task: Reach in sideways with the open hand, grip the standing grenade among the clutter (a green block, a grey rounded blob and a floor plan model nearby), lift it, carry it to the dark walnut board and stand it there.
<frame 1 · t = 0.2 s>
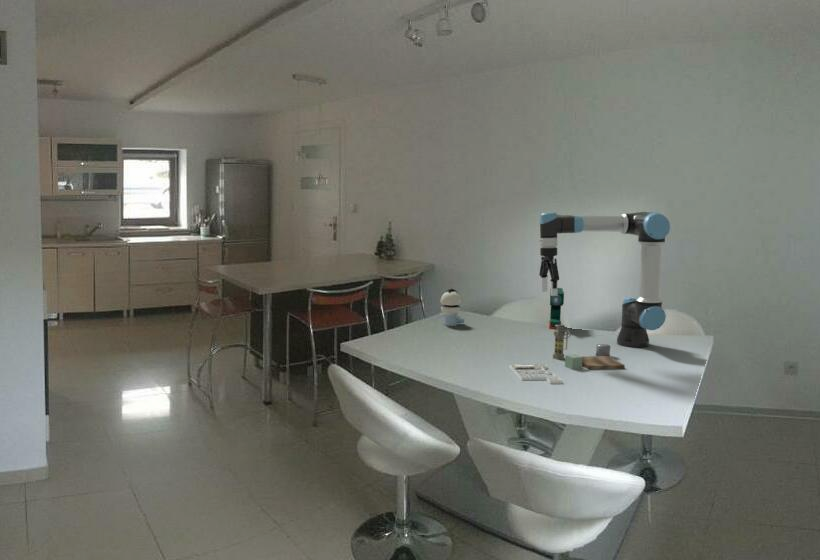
hand: (549, 293, 310), 28 cm above the table, tool pointing down, fingers open, 13 cm apart
grey rounded blob: (602, 356, 309), on the table
green block: (573, 367, 289), on the table
floor plan model: (535, 376, 276), on the table
walnut board: (598, 364, 294), on the table
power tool: (555, 328, 370), on the table
toy: (451, 324, 376), on the table
grenade: (560, 359, 303), on the table
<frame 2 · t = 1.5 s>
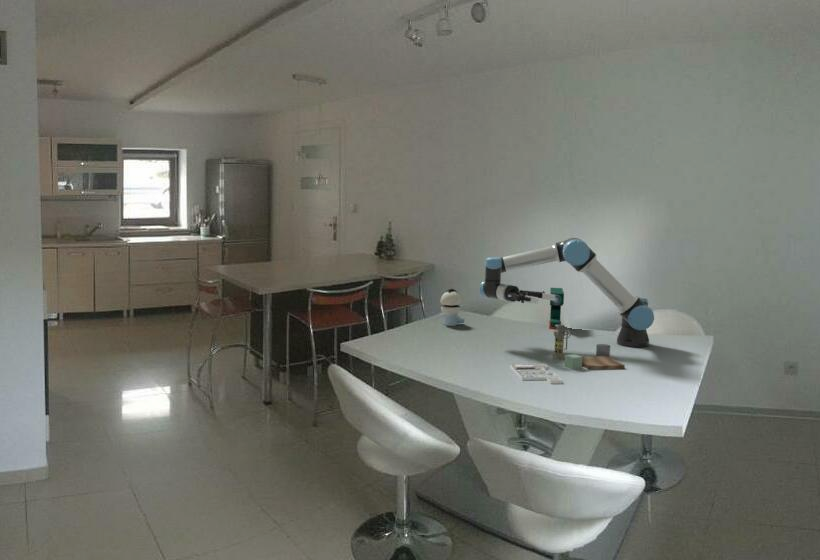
hand: (546, 299, 307), 26 cm above the table, tool horizontal, fingers open, 13 cm apart
nothing on the table moved.
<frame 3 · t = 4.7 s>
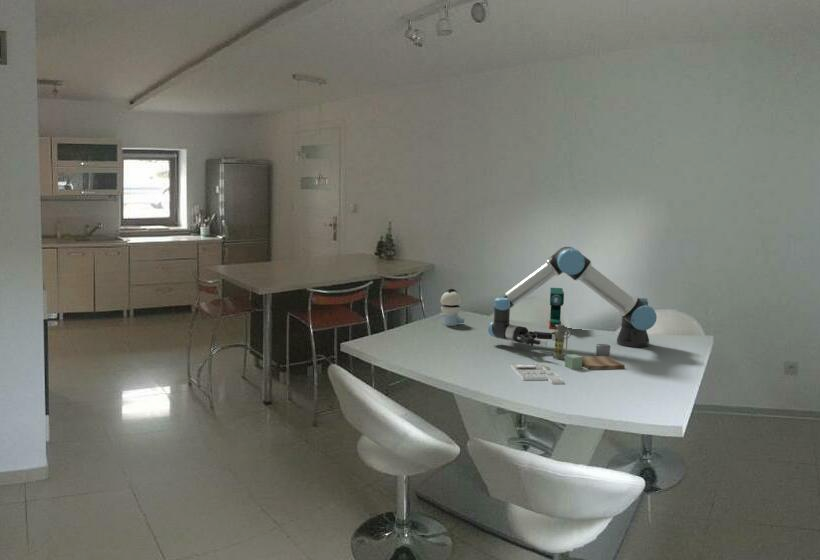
hand: (555, 341, 304), 7 cm above the table, tool horizontal, fingers open, 13 cm apart
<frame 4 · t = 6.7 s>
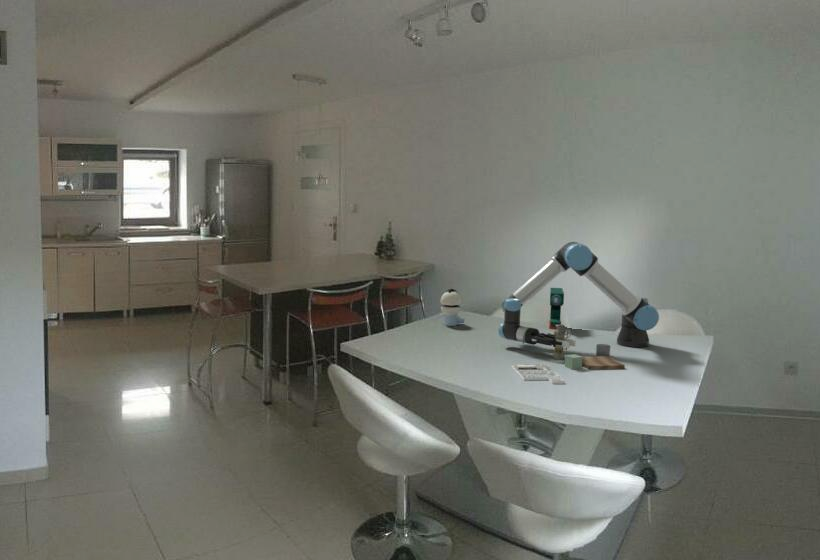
hand: (571, 344, 299), 8 cm above the table, tool horizontal, fingers closed on grenade, 4 cm apart
grenade: (560, 358, 303), on the table, touching gripper
everything else where it was.
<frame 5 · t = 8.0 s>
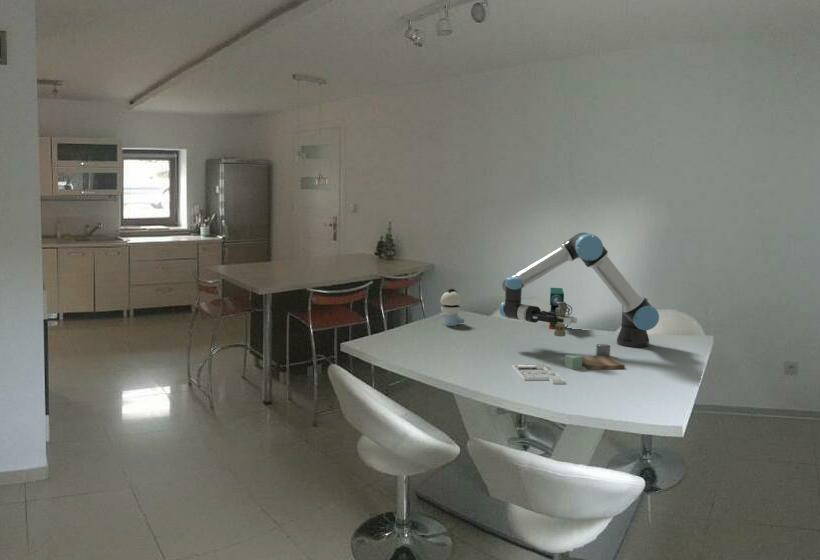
hand: (573, 321, 297), 18 cm above the table, tool horizontal, fingers closed on grenade, 4 cm apart
grenade: (562, 336, 302), point 10 cm above the table, touching gripper
when the fingers open (9 cm above the table, at t = 11.4 s): grenade stays where it is, resting on walnut board.
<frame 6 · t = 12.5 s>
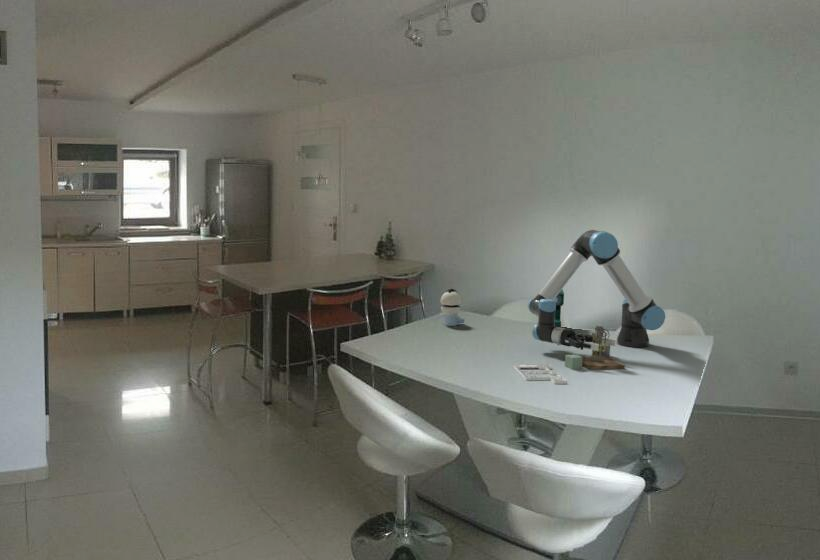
hand: (606, 345, 291), 9 cm above the table, tool horizontal, fingers open, 13 cm apart
grenade: (598, 361, 294), point 1 cm above the table, touching walnut board
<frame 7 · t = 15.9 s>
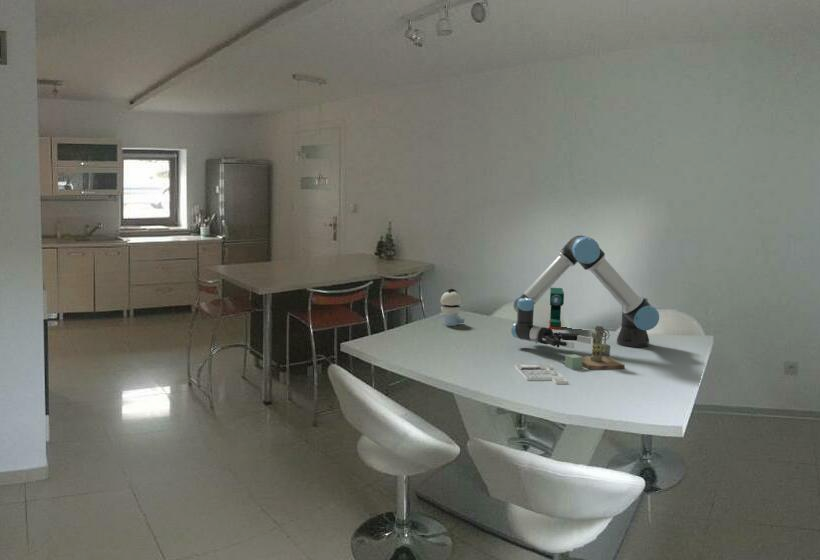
hand: (582, 343, 299), 8 cm above the table, tool horizontal, fingers open, 13 cm apart
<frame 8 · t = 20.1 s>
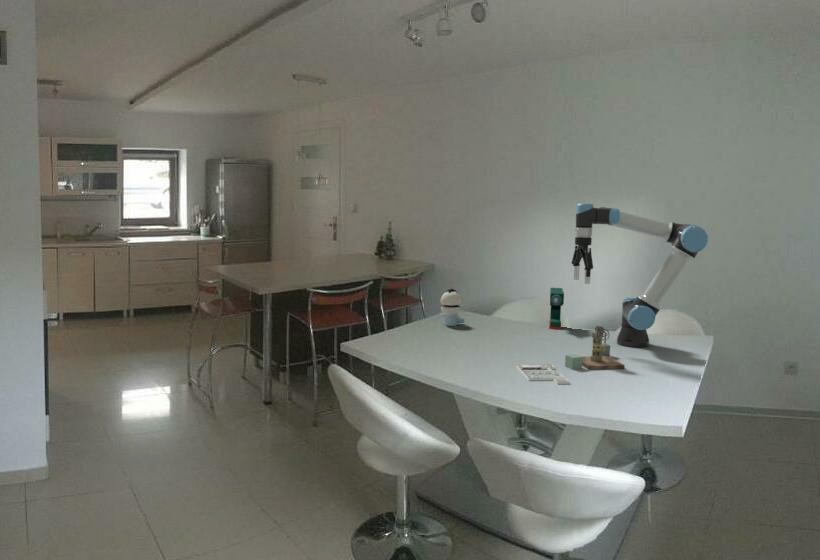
hand: (581, 281, 321), 32 cm above the table, tool pointing down, fingers open, 13 cm apart
at the end: grenade inside the target area on the walnut board (0.0 cm from its centre), point 1.3 cm above the walnut board's base; grenade tilted 0°; the gripper is holding nothing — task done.
